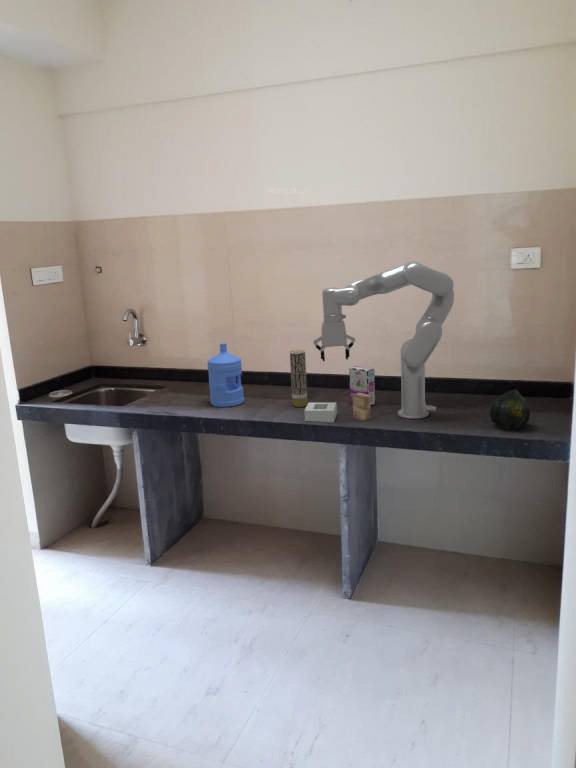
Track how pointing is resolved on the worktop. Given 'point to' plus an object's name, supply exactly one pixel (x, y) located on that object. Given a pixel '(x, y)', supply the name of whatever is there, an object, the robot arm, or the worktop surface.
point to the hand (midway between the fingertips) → (335, 359)
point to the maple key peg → (361, 406)
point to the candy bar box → (362, 382)
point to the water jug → (225, 379)
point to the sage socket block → (321, 412)
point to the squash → (510, 410)
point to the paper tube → (298, 378)
